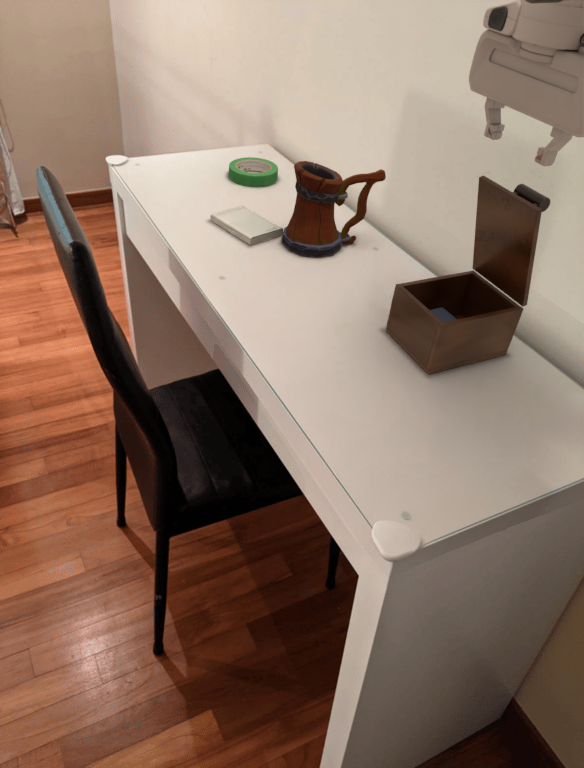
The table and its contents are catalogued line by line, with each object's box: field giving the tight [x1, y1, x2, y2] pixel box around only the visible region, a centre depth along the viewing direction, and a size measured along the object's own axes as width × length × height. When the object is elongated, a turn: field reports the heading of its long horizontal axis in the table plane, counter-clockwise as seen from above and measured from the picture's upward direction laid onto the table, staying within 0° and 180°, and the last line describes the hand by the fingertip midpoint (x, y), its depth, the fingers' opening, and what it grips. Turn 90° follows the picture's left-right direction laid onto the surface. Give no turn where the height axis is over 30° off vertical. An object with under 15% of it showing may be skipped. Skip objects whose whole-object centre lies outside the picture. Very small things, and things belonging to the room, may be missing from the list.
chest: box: [385, 270, 524, 375], centre depth 92 cm, size 15×12×8 cm
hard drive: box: [209, 205, 284, 246], centre depth 118 cm, size 2×8×12 cm
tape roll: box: [228, 156, 279, 188], centre depth 138 cm, size 11×11×3 cm
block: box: [430, 307, 457, 323], centre depth 91 cm, size 4×4×4 cm
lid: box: [472, 175, 551, 308], centre depth 86 cm, size 15×12×5 cm
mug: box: [281, 160, 387, 258], centre depth 112 cm, size 18×12×15 cm, turn 101°
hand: (516, 150), depth 77 cm, fingers open, 8 cm apart
